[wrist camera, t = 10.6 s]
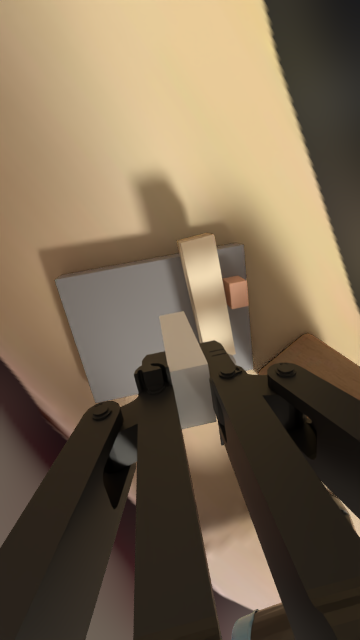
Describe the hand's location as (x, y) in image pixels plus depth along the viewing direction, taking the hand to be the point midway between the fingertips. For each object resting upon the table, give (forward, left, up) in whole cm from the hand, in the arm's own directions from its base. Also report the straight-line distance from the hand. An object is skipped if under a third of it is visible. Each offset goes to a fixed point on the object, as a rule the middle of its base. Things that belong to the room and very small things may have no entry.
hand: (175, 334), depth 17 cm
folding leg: (-4, -5, -16) cm, 18 cm away
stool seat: (-6, +1, -20) cm, 21 cm away
